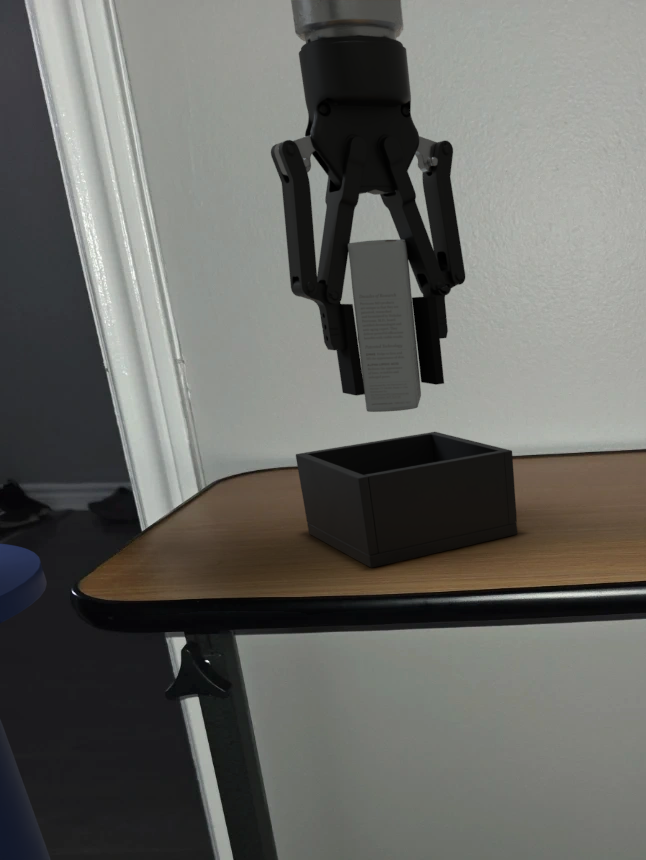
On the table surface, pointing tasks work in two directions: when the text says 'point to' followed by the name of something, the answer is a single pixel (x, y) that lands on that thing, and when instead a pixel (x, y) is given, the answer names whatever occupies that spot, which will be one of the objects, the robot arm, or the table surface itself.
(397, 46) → the robot arm
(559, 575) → the table surface
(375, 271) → the cosmetic box
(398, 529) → the basket
